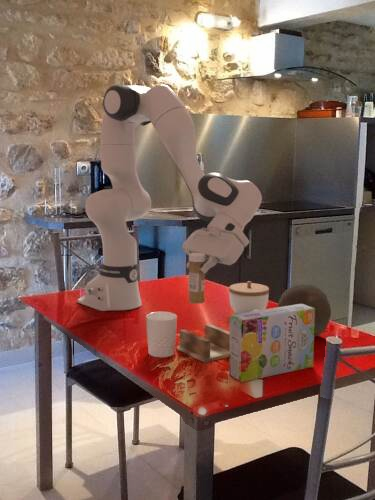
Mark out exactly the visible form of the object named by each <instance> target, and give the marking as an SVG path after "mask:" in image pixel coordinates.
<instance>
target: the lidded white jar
mask: <svg viewBox="0 0 375 500" xmlns="http://www.w3.org/2000/svg"><path fill="white" fill-rule="evenodd" d="M228 291H229V297H228V299H229V304H230V307H231V309H232V311H233V312H234V314H238V313H245V312H251V311H253V310H256V309H257V310H264V309H267V306H268V303H269V293H270V288H269V286H268V285H264V284H260V283H254V282H252V281H251V280H248V281H247V282H237V283H234V284H233V283H232V284H230V286H229V287H228Z"/></svg>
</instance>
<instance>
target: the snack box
mask: <svg viewBox="0 0 375 500" xmlns="http://www.w3.org/2000/svg"><path fill="white" fill-rule="evenodd" d="M314 321H315V308H312V307H310V306H307V305H304V304H296V305H290V306H283V307H278V306H277V307H272V308H271V307H270V308H266V309H264V310H258V311H251V312H245V313H238V314H236V313H234V314H233V313H232V314H230V315H229V332H230V341H229V343H230V346H229V357H228V362H229V364H228V365H229V367H228V369H229V370H228V373H229V374H228V375H229V377H231V378H233V379H235V380H237V381H238V382H240V383H244V382H249V381H253V380H254V381H255V380H258V379H262V378H268V377H271V376H277V375H281V374H285V373H290V372H295V371H300V370H303V369H309V368H313V367H314V351H315V350H314V349H315V347H314V345H315V337H314Z"/></svg>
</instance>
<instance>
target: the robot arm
mask: <svg viewBox="0 0 375 500" xmlns="http://www.w3.org/2000/svg"><path fill="white" fill-rule="evenodd" d="M102 104H103V105H102V107H103V109H104V114H103V116H102V120H101V126H100V139H99V140H100V146H99V147H100V163H101V164H100V168H101V171H102V172H103V173H104V174H105V175H106V176H107V177H108V178H109V180H110V182H111V186H112V188H108V189H107V188H106V189H102V190H99V191H96V192H93V193H90V195H88V197H87V198H86V201H85V214H86V215H87V217H88V219H89V220H90V221H92V223H94V225H95V226H96V227H97V229H98V232H99V234H100V237H101V242H102V259H103V260H102V261H103V263H101V264H98V265H96V267H97V268H96V269H98V270H99V269H100V270H99V272H98V274H97V275H96V276H95V277H94V278H93V279H91V280H90V281H88V282H87V284H86V285H85V287H84V295H83V296H81V297H79V298H78V299H77V303H78V304H81V305H83V306H86V307H89V308H92V309H95V310H97V311H100V312H108V311H127V310H134V309H137V308H140V307H141V306H142V305H143V303H142V299H141V295H140V289H139V282H138V281H139V280H138V278H139V263H138V261H137V260H138V259H137V258H138V250H137V249H138V248H137V246H138V245H137V244H138V243H137V240H136V238H135V237H134V236H133V235H131V234H130V232H129V230H128V226H127V222H130V221H136V220H139V219H141V218H143V217H145V216H147V215H148V214H149V213H150V211H151V208H152V198H151V196H150V194H149V193H148V191H146V190H145V188H144V187H143V185H142V183H141V181H140V178H139V174H138V170H137V161H136V138H135V137H136V135H135V134H136V133H135V132H136V129H137V127H138V126H139V125H141V126H147V125H149V124H151V125H152V126H153V128H154V130H155V131H156V133H157V135H158V137H159V138H160V140H161V141H162V143H163V144H164V146H165V148H166V149H167V151H168V153H169V154H170V156H171V158H172V159H173V162H175V165H176V167H177V169H178V171H179V173H180V175H181V176H182V179H183V181H184V183H185V184H186V187H187V189H188V191H189V193H190V195H191V199H192V210H193V212H194V214H195V216H196V217H197V218H198V219H199V220H202V221H203V222H208V224H207V227H202V228H199V229H196V230H194V231H193V232H192V233H191V234H190V235H189V236H188V237H187V239H186V240H185V241H184V242H183V244H182V247H181V249H182V251H183V252H184V253H185V254H186V255H188V256H189V254H191V253H202V254H205V255H206V261H205V264H204V265H203V264H202V265H201V267H200V268H199V271H200V272H202V273H205V274H207V273H208V271H209V270H210V269H211V268H213V267H215V266H216V265H217V264H218V263H219V264H222V265H227V266H232V265H234V264H235V263H236V262H237V261H238V259H239V258H240V257H241V255H242V254H243V252H244V249H245V248H246V247H247V246H248V245H249V243H250V240H249V238H248V237H247V236H246V234H245V233H244V229H245V227H246V225H247V224H248V223H250V222H251V220H252V219H253V218H254V216H255V215H256V213H257V212H258V211H259V208H260V207H261V204H262V201H263V197H262V193H261V191H260V189H259V188H258V186H257V185H256V184H254V182H252V181H249V180H238V179H237V180H236V179H232V178H230V177H227V176H225V175H223V174H221V173H219V172H209V173H206V174H205V172H204V170H203V168H202V166H201V165H200V162H199V159H198V155H197V144H196V143H197V130H196V125H195V122H194V121H193V117H192V116H191V114H190V111H189V110H188V108H187V106H185V104H184V103H183V101H182V100H181V98H180V97H179V96H178V94H177V93H176V92H175V91H174V90H173V89H172V88H171V87H170V86H168V85H166V84H155V85H154V86H152V87H147V86H145V85H144V86H143V85H140V84H139V85H138V84H131V85H130V84H129V85H125V84H116V85H111V86H110V87H108V88H107V89H106V91H105V92H104V95H103V99H102ZM185 267H186V268H187V269H188V270H189V261H188V262H187V263H186V265H185Z"/></svg>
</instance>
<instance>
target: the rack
mask: <svg viewBox="0 0 375 500" xmlns="http://www.w3.org/2000/svg"><path fill="white" fill-rule="evenodd" d="M204 327H205V328H204V337H203V336H201V335H200V334H199V335H198V334H196V333H193V332H192V331H189V330H187V329H184V328H183V329H180V330H179V345H176V350H178V351H180V352H181V353H184V354H185V355H188V356H190V357H192V358H194V359H196V360H198V361H200V362H201V363H210V362H213V361H216V360H217V361H218V360H222V359H224V358H229V346H230V343H229V341H230V330H229V331H228V330H226V329H224V328H221V327H219V326H216V325H214V324H212V323H208V324H205V325H204Z"/></svg>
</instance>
